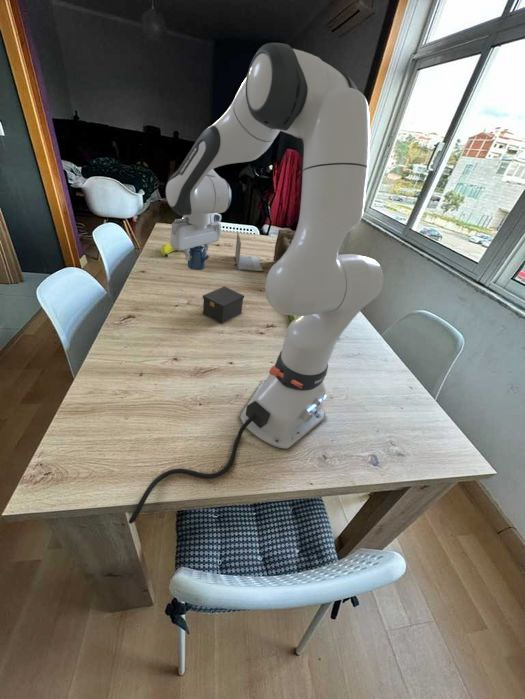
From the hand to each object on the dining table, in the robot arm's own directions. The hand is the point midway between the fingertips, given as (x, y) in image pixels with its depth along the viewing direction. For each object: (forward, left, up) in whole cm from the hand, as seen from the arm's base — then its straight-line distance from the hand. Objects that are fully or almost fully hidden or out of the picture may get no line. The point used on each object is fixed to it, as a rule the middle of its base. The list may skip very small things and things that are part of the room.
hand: (196, 257), depth 103 cm
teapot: (0, 0, -3) cm, 3 cm away
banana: (+27, +39, -17) cm, 50 cm away
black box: (0, -14, -17) cm, 21 cm away
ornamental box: (+54, -13, -17) cm, 58 cm away
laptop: (+47, +10, -17) cm, 51 cm away
